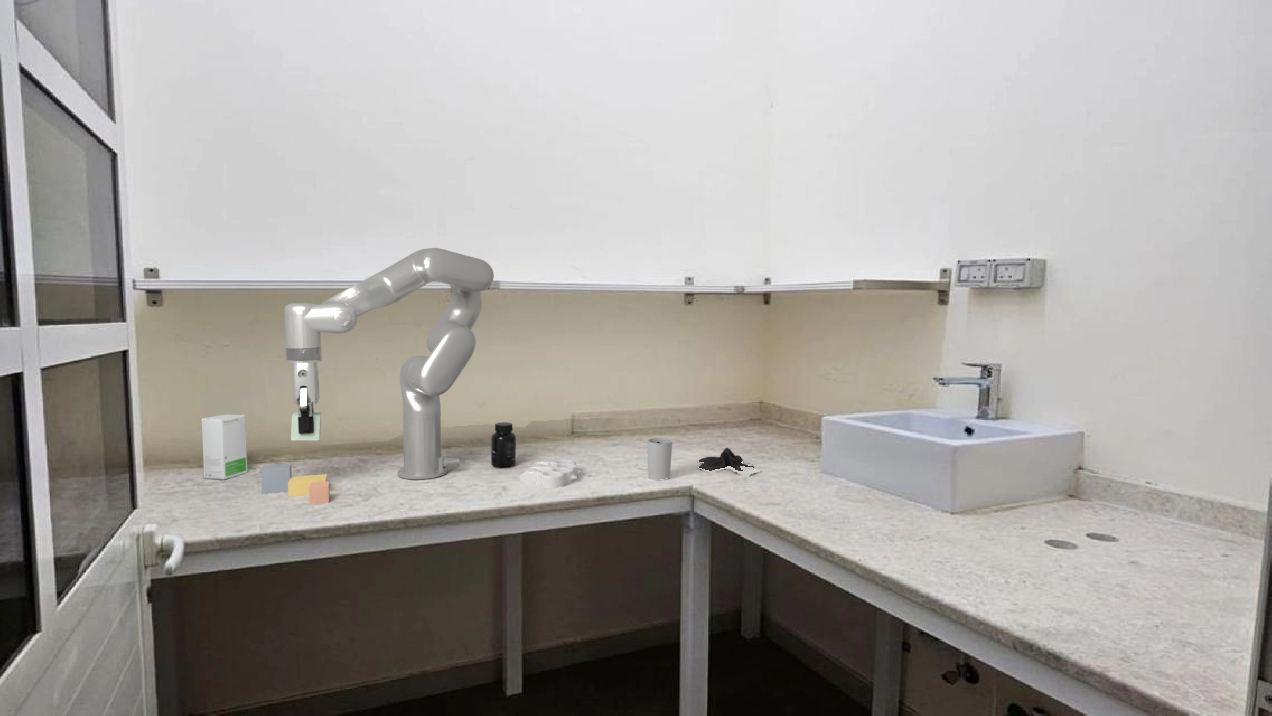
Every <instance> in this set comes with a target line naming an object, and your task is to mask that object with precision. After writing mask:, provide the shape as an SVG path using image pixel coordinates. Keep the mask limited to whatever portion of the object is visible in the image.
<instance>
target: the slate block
mask: <svg viewBox="0 0 1272 716" xmlns="http://www.w3.org/2000/svg"><path fill="white" fill-rule="evenodd" d="M260 471H261V476H260V477H261V495H269V493H271V494H281V493H280V492H283V493H288V482H289V480H290V478H291V477H293V476H292V475H293V474H292V472H293V471H292V463H282V464H269V465H267V464H266V465H263V466H262V467H261V469H260Z"/></svg>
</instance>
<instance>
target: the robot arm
mask: <svg viewBox="0 0 1272 716" xmlns="http://www.w3.org/2000/svg"><path fill="white" fill-rule="evenodd" d="M494 277H495V276H494V269H493V268H492V266H491V265H490V264H489V263H488V262H487V261H485V260H483V259H481V258H477V257H474V256H470V255H466V254H462V253H458V252H455V251H451V250H447V249H443V248H439V247H430V248H429V247H428V248H422V249H419V250H416V251H415V252H413V253H411V254H409V255H407V256H405V257H403V258H402V259H400V260H399V261H397V262H395V263H392V265H390V266H388V267H386V268H384V269H382V270H380V271H378V272H377V273H375V274H373V275H371V276H369V277H366V278H365V279H364V280H362V281H360V282H358V283H355V284H354V285H352V286H349V287H348V288H346V289H344V290H342V291H341V292H339V293H337V294H335V295H333V296H332V297H330V298H328V299H326V300H324V301H323V302H321V303H320V304H316V303H311V302H310V303H309V302H293V303H288V304H286V305H285V306H284V310H283V312H284V313H283V314H284V336H285V339H284V340H285V357H286V360H285V361H286V363H289V364H291V369H292V370H291V371H292V373H291V374H292V389H293V399H294V403H295V404H296V405H297V406H298V412H299V417H298V429H299V434H308V433H313V432H314V423H313V416H312V413H315V411H314V409H315V408H314V405H317V404H318V402H319V400H320V399H321V398H320V397H321V396H320V382H319V379H320V378H319V367H318V362H322V342H321V341H322V338H321V337H322V333H330V334H339V335H340V334H346V333H348V332H350V331H352V330H353V329H354V328H355V326H356V325H357V323H358V317H359V316H361V315H364V314H366V313H368V312H370V311H374V310H376V309H378V308H383V307H387V306H391V305H393V304H396V303H398V302H399V301H401V300H403V299H404V298H406V297H408V296H409V295H411V294H413V293H414V292H415V291H417V290H419V289H421V288H423V287H424V286H426V285H428V284H430V283H432V282H439V283H441V284H442V283H443V284H445V285H449V287H450V289H451V298H450V302H449V303H448V305H447V307H446V308H445V310H444V311H443V313H442V314H441V316H440V317H439V319H438V320H437V321H436V323H435V324H434V326H432V328H431V330H430V331H429V333H428V335H427V337H426V347H427V348H428V351H429V352H430V353H429V355H428V356H427V355H426V356H425V355H414V356H412V357H409V358H408V359H407V360H406V361H404V363H403V364H402V366H401V368H400V372H399V383H400V389H401V396H402V397H401V398H402V415H403V416H402V422H403V423H402V425H403V426H402V428H403V441H402V442H403V466H402V467H400V468H399V469H398V470H397V476H398V477H400V478H401V479H407V480H427V479H428V480H429V479H435V478H439V477H441V476H444V475H446V474H447V473H448V468H447V467H448V466H459V465H460V459H459V457H455V458H454V457H444V456H443V454H442V437H441V435H442V434H441V432H442V431H441V430H442V426H441V422H442V421H441V415H442V411H441V410H442V409H441V408H442V407H441V398H440V396H441V395H443V394H445V393H446V392H448V390H450V389H451V387H452V386H453V385H454V383H455V382H456V381H457V379H458V378H459V376H460V375H461V373H462V372H463V370H464V369H465V367H466V365H468V362H469V361H470V360H471V359H472V356H473V355H474V352H475V348H476V344H477V343H476V337H475V334H474V332H473V327H474V326H475V324H476V322H477V321H478V319H479V317H480V314H481V312H482V305H483V303H482V302H483V301H482V294H481V293H482V292H483V291H485V290H487V289H488V288H490V287H491V286H492V284H493V283H494V279H495V278H494Z"/></svg>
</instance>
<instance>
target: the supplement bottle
mask: <svg viewBox="0 0 1272 716" xmlns="http://www.w3.org/2000/svg"><path fill="white" fill-rule="evenodd" d="M513 430H514V429H513V423H511V422H506V421H505V422H504V421H503V422H496V423H495V425H494V431H495V432H494V433H493V434H492V435H491V439H490V440H491V443H490V445H491V446H490V449H491V451H490V452H491V453H490V456H491V458H490V460H491V461H490V464H491V466H492V467H493V468H496V469H510V468H513V467H515V466H516V463H517V462H516V461H517V455H516V454H517V435H516V434H515V433H514V432H513Z"/></svg>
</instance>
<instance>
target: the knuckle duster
mask: <svg viewBox="0 0 1272 716" xmlns="http://www.w3.org/2000/svg"><path fill="white" fill-rule="evenodd" d="M582 473H583V471H581V470H579V469H578V466H577V461H575V460H573V459H568V458H567V459H565V458H564V459H557V460H554V461H543V460H542V461H536V462H535V463H533V464H531V466H530V467H528V468H526V470H525V471H524V472H523V473H521V474H520V475H519V480H520V482H522V483H523V484H535V485H536V484H537V485H539V486H540V487H542V488H544V487H545V489H560V488H559V487H561V488H564V486H565V485H568V484H571V483H574V482H575V480H576V479H578V475H579V474H582Z"/></svg>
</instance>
